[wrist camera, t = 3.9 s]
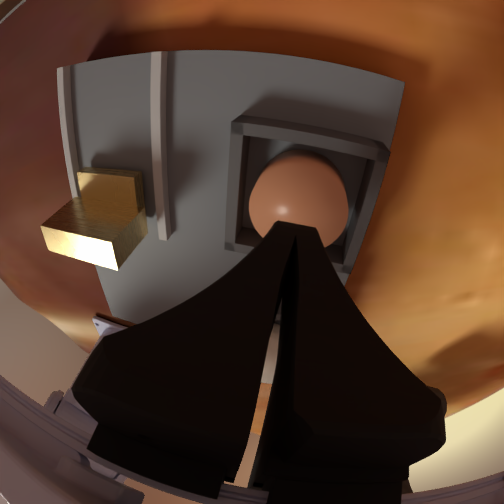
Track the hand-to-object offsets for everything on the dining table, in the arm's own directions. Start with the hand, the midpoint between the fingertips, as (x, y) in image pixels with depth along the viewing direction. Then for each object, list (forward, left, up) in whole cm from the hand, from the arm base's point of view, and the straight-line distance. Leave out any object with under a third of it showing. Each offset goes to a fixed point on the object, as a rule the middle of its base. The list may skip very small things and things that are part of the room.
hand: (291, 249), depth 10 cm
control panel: (-4, +5, -7) cm, 9 cm away
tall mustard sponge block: (-2, +10, -4) cm, 11 cm away
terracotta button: (0, 0, -5) cm, 5 cm away
